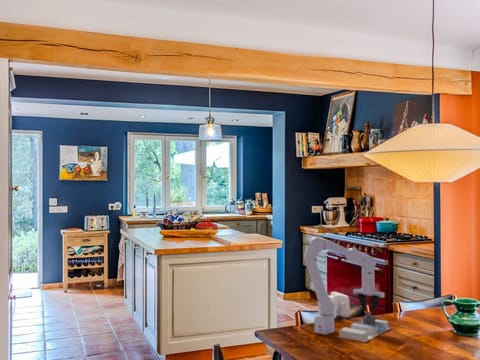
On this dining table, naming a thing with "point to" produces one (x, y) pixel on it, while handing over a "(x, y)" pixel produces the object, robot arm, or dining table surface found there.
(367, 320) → the cord plug
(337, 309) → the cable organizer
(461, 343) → the dining table surface
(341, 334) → the grey stepped board
